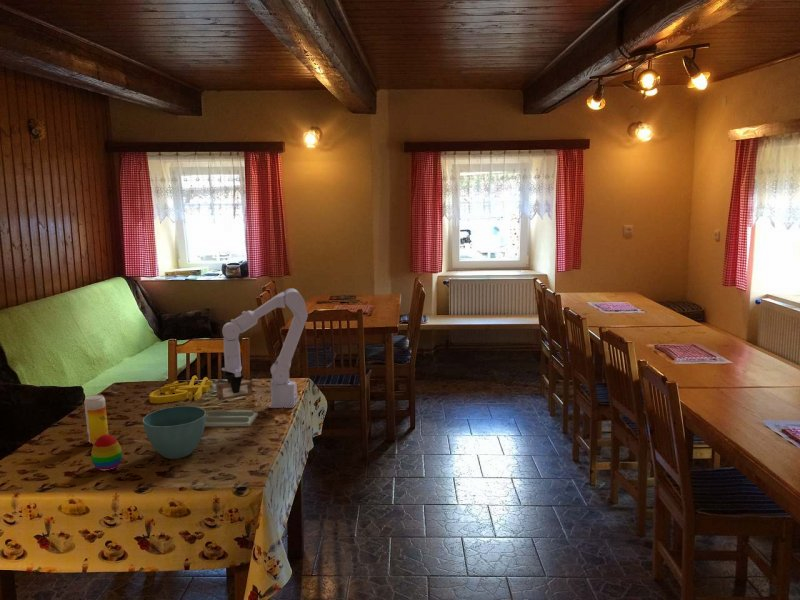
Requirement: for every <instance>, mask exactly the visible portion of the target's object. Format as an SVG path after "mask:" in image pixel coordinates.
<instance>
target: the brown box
mask: <svg viewBox="0 0 800 600" xmlns="http://www.w3.org/2000/svg"><path fill="white" fill-rule="evenodd" d="M215 388H216V398H217V399H218V401H223V400H228V399H229V400H230V399H234V398H242V397H247V396H252V395H253V392H252V388H253V387H252V381H251V380H249V379H244V380H243V379H242V381H241V384H240V391H239V393H233V391H232V387H231V383H228V382H224V383H218V384H216V386H215Z"/></svg>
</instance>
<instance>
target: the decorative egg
mask: <svg viewBox="0 0 800 600" xmlns="http://www.w3.org/2000/svg"><path fill="white" fill-rule="evenodd" d="M92 445H93V446H92V447H91V455H90V457H91V462H92V464H93V466H94V468H95V469H97V470H98V469H111V468H114V467H116V468H118V467H119V465H120V463H121V462H122V459H123V458H122V457H123V451H122V447H121V445H120V443H119V441H118V440H117V439H116V437H114V436H113V435H111V434H108V435H107V434H105V435H102V436H100V437H99V438H98V439H97V440H96V442H95V443H94V444H92ZM117 466H118V467H117Z"/></svg>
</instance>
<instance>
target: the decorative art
mask: <svg viewBox="0 0 800 600" xmlns="http://www.w3.org/2000/svg"><path fill="white" fill-rule="evenodd" d="M191 380H192V381H191ZM195 380H198V381H199V379H198V377H197V374H196V375H193V376H191V379H190V382H189V383H188V381H186V382H181V383H179V380H178V381H173V382H172V383H169V384H163V385H164V386H161V387H160V388H159V389H156V390H155V389H154V391H152V392H150V393H149V395H148V396H149V402H150V403H151V404H168V402H169V403H173V402H174V401H175V402H179V401H184V400H187V399H188V400H189V401H190V400H192V399H193V398H194V401H195V400H196V401H198V400H199V399H201V397H202V395H203V394H206V393H205V392H207V393H209V392H210V391H211V387H210V386H211V385H213V386H214V384H213V381H214V380H209V378H208V377H207V376H205V377H203V379H202V380H201V382H198V384H195V385H194V382H195ZM203 380H206V381H203ZM209 390H210V391H209ZM208 391H209V392H208ZM161 393H163V394H164V395H161ZM173 393H175V394H173ZM193 393H194V394H193ZM158 395H159V396H158ZM197 399H198V400H197Z"/></svg>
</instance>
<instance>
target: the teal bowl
mask: <svg viewBox="0 0 800 600" xmlns="http://www.w3.org/2000/svg"><path fill="white" fill-rule="evenodd" d="M206 415H207V414H206V410H205V409H204V408H203V407H199V406H195V405H194V406H193V405H179V406H178V405H177V406H171V407H170V406H169V407H165V408H160V409H158V410H155V411H152V412H150V413H148V414H146V416H144V417H143V418H142V425H143V429H144V432H145V434H146V437H147V439H148V441H149V442H150V444H151V446H152V447H153V449H155V450H156V452H157V453H159V454H160V455H161V456H162V457H164V458H166V459H171V460H173V459H174V460H176V459H181V458H182V459H183V458H184V457H187V456H189V455H191V454H192V453H193V451H194V450H195V449H196V447H197V446H198V445H199V442H200V441H201V439H202V436H203V434H204V431H205V427H206V426H205V421H206Z"/></svg>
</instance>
